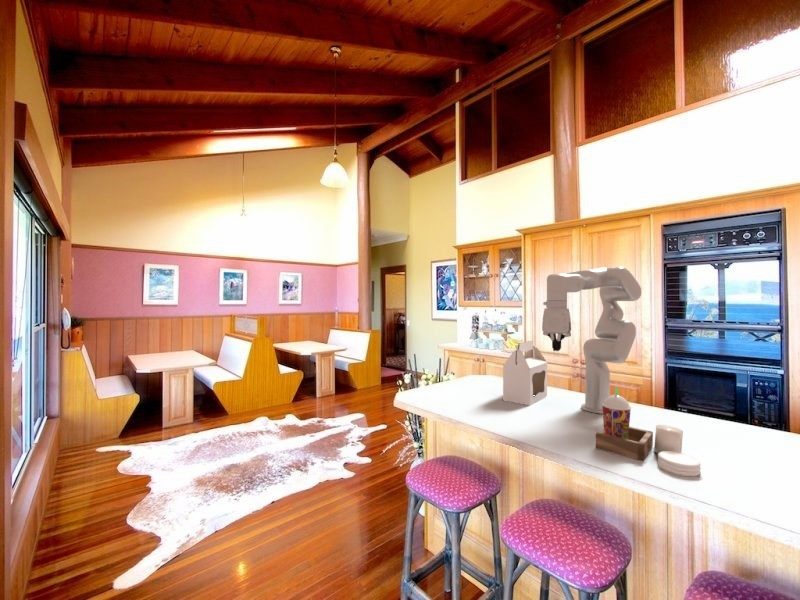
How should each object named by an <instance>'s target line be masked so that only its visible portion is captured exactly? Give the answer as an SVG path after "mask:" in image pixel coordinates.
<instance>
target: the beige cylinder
mask: <svg viewBox="0 0 800 600" xmlns="http://www.w3.org/2000/svg"><path fill="white" fill-rule="evenodd" d="M654 435H655V436H654V448H653V451H654V452H655V453H656V454H657V455H658V454H659V453H660V452H662V451H674V452H680V453H682V451H683V450H682V449H683V438H684V430H682V429H680V428H678V427H675V426H671V425H666V424H656V425H655V434H654Z"/></svg>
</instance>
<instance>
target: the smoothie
mask: <svg viewBox="0 0 800 600" xmlns="http://www.w3.org/2000/svg"><path fill="white" fill-rule="evenodd" d="M614 390H615V393H614V394H610V396H608V397H607V398H606V399H605V401H604V403H602V405H603V414H602V420H603V421H602V422H603V423H602V424H603V434H608V435H612V436H616V437H620V438H624V439H628V434H629V427H630V421H631V410H632V407H631V406H630V403H629V402H628V401H627V399H626V398H624V397H623V396H621V395H619V394H618V386H615V388H614Z"/></svg>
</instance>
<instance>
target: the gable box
mask: <svg viewBox="0 0 800 600" xmlns="http://www.w3.org/2000/svg"><path fill="white" fill-rule="evenodd" d="M523 352H524V353H525V354H524V353H523ZM502 369H503V370H502V372H503V373H502V375H503V376H502V400H503V401H504V400H505V402H508V401H509V403H513V402H515V403H514V404H518V403H520V404H519V405H523V404H525V405H524V406H527V405H530V406H532V405H533V403H534V404H535V402H536V403H537V402H539V401H541V400H543V399H545V398H546V396H547V397H548V361H547V360H546V359H545V357H544V356H543V354H542V353H541V351H540V350H539V348H538V347H537V346H535V345H534V341H533V340H528V341H524V342H519V343H518V344H517V345H515V350H514V351H513V352H512V353H511V354H510V355H509V357H508V358H507V360H506V361H505V362H504V364H503V365H502ZM533 395H535V396H533ZM531 404H532V405H531Z"/></svg>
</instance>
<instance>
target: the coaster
mask: <svg viewBox="0 0 800 600" xmlns="http://www.w3.org/2000/svg"><path fill="white" fill-rule="evenodd" d="M657 464H658V466H659V467H660V468H661V469H663V470H664V471H666V472H668V473H671V474H675V475H678V476H682V477H689V476H694V477H697V476H696V475H698V476H700V475H699V474H701V462H700V461H699V459H697V458H695V457H693V456H692V455H690V454H686V453H683V452H681V453H680V452H674V451H662V452H660V453H659V454H658V453H657Z"/></svg>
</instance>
